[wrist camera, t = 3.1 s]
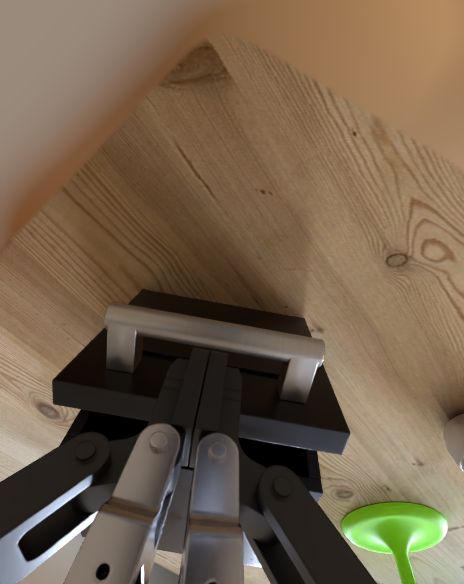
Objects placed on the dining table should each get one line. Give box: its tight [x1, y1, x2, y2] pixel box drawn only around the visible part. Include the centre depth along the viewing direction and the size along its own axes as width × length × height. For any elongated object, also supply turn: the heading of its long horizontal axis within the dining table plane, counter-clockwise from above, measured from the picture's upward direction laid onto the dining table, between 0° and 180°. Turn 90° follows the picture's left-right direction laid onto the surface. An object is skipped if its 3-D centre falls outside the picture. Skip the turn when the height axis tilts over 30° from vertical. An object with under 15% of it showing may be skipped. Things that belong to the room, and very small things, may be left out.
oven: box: [60, 409, 323, 568], centre depth 28 cm, size 13×16×15 cm
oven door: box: [52, 290, 350, 455], centre depth 23 cm, size 5×16×15 cm, turn 81°
